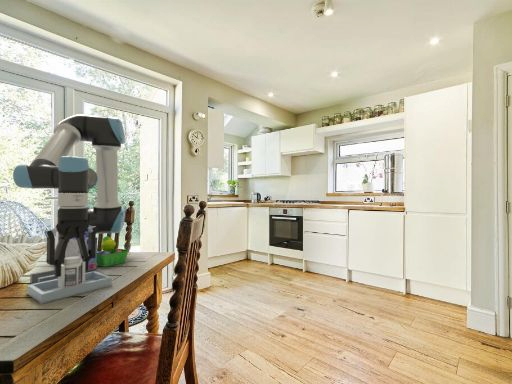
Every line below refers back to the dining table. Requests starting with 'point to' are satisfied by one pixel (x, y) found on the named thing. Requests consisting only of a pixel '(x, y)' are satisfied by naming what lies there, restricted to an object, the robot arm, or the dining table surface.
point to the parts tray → (52, 292)
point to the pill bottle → (72, 271)
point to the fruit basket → (110, 253)
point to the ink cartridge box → (74, 251)
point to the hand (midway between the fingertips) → (71, 284)
